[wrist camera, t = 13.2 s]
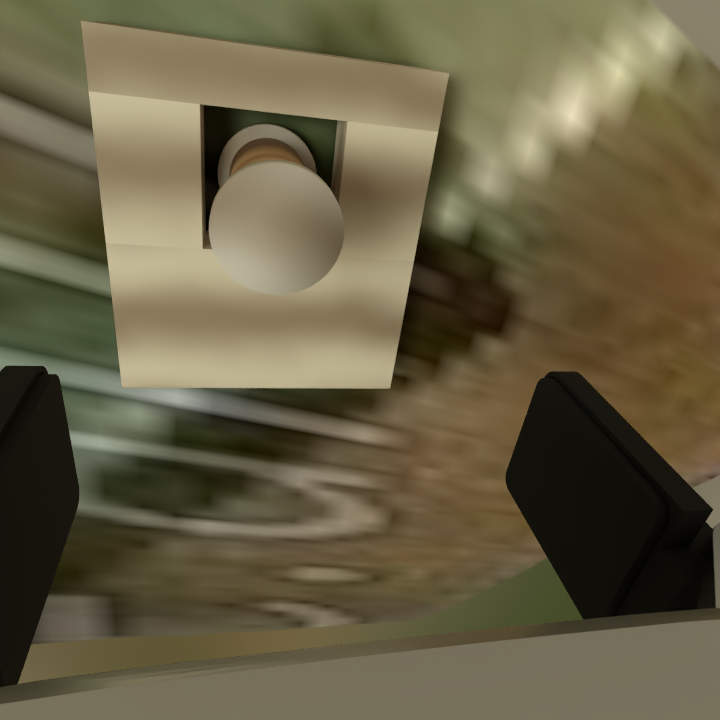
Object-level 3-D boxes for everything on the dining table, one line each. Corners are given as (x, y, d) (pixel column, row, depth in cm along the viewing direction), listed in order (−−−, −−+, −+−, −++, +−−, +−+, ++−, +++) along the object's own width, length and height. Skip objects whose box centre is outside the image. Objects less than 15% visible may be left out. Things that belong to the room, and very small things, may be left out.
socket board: (379, 363, 37) (389, 388, 35) (131, 360, 33) (122, 387, 31) (430, 69, 28) (449, 73, 26) (97, 21, 24) (81, 20, 22)
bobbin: (311, 224, 31) (336, 297, 23) (218, 218, 30) (209, 292, 22) (319, 128, 29) (351, 170, 20) (217, 117, 27) (207, 156, 19)
